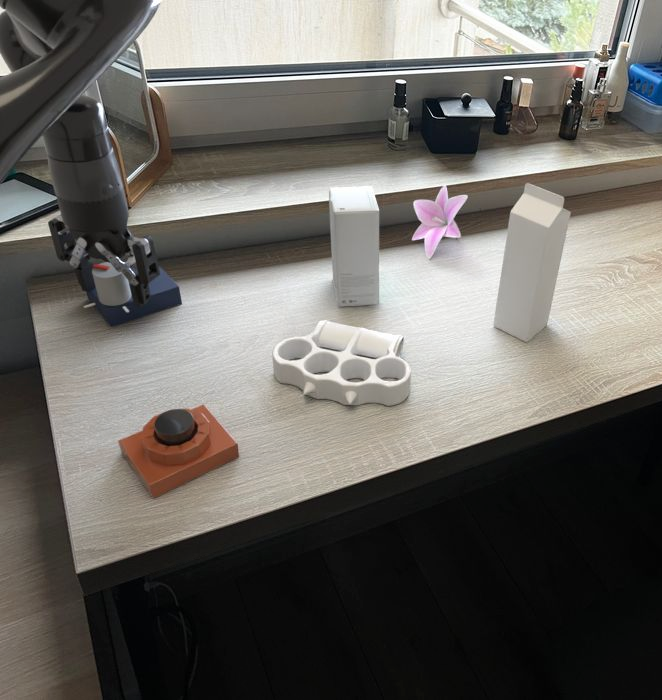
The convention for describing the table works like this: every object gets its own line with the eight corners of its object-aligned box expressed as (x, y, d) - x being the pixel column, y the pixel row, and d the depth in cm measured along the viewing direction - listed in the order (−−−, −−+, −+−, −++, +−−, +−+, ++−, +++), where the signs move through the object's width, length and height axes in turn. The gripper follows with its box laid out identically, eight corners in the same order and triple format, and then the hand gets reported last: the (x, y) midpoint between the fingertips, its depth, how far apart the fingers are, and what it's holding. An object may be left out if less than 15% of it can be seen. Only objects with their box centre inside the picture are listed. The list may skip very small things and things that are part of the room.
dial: (137, 292, 99) (130, 262, 96) (120, 308, 96) (113, 278, 93) (110, 287, 100) (102, 257, 97) (92, 302, 96) (84, 272, 93)
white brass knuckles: (425, 353, 100) (396, 425, 88) (301, 328, 102) (257, 394, 90) (427, 334, 98) (397, 404, 86) (300, 308, 99) (255, 374, 88)
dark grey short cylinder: (166, 451, 77) (164, 440, 76) (150, 430, 79) (147, 419, 78) (202, 435, 79) (200, 424, 78) (185, 415, 81) (183, 403, 80)
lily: (413, 226, 130) (395, 190, 122) (476, 206, 128) (462, 169, 120) (422, 278, 123) (403, 244, 115) (488, 258, 122) (473, 222, 114)
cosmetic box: (379, 306, 108) (382, 212, 98) (334, 308, 106) (332, 213, 96) (372, 275, 114) (374, 184, 104) (329, 277, 112) (327, 185, 103)
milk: (514, 309, 110) (537, 175, 97) (547, 325, 108) (576, 189, 95) (492, 326, 106) (513, 188, 93) (526, 343, 104) (553, 204, 90)
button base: (153, 499, 76) (146, 473, 74) (121, 454, 81) (114, 429, 78) (239, 456, 82) (236, 431, 80) (206, 417, 86) (201, 392, 84)
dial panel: (101, 341, 95) (96, 321, 93) (72, 304, 101) (66, 285, 99) (189, 310, 102) (185, 292, 100) (157, 278, 108) (154, 260, 106)
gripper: (159, 186, 89) (179, 295, 99) (62, 161, 92) (90, 270, 102) (118, 211, 83) (143, 325, 94) (15, 184, 86) (51, 297, 96)
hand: (116, 296), depth 98 cm, fingers open, 7 cm apart
